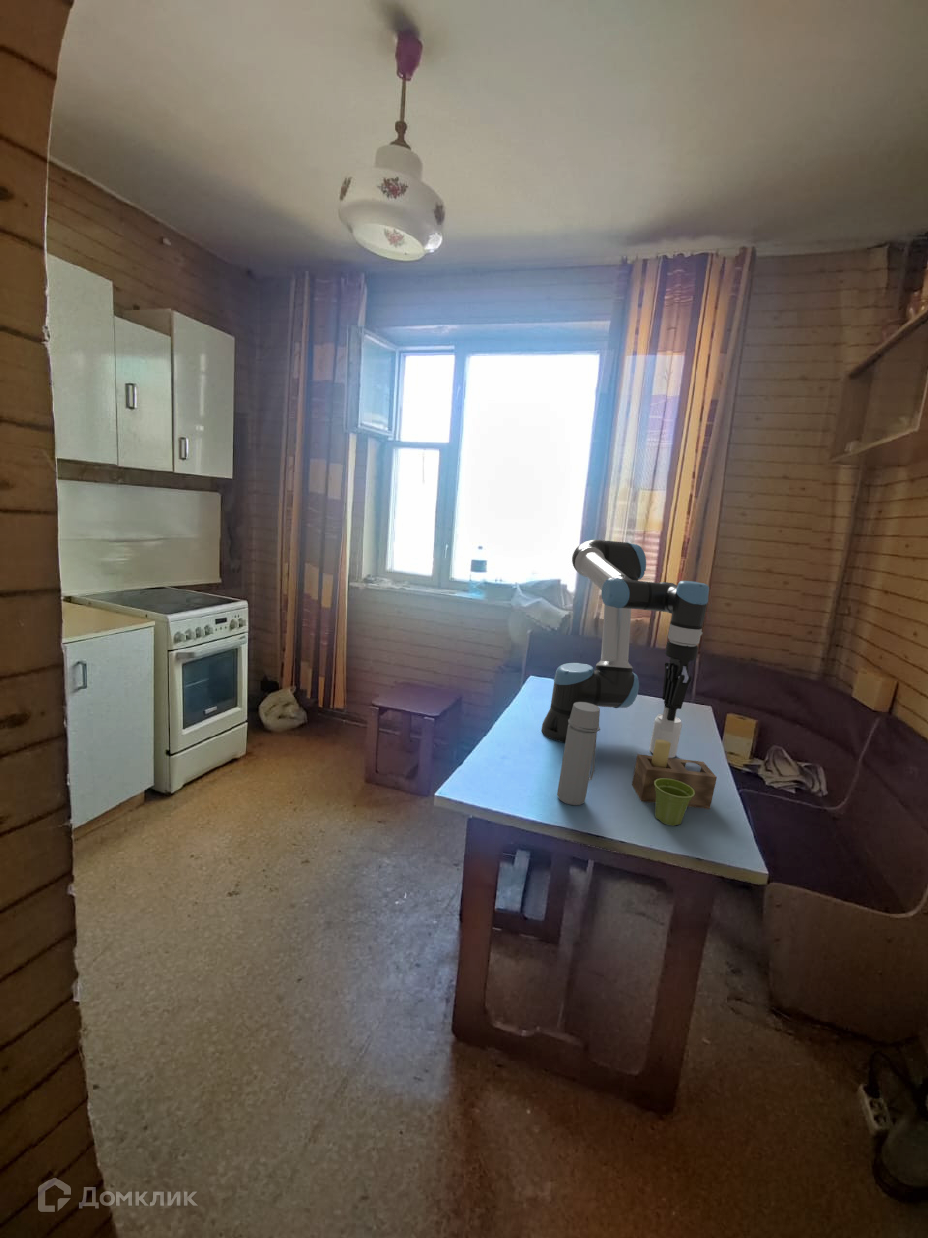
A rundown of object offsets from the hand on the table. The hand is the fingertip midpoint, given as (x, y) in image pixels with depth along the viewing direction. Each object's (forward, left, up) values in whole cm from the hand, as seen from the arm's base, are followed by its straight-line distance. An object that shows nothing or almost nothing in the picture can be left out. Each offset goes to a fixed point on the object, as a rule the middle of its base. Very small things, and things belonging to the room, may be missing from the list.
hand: (666, 730), depth 149 cm
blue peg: (+9, 0, -17) cm, 19 cm away
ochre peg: (0, 0, -12) cm, 12 cm away
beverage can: (+11, +29, -19) cm, 36 cm away
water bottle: (-23, -7, -19) cm, 30 cm away
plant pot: (0, -12, -19) cm, 22 cm away
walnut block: (+4, 0, -19) cm, 19 cm away
